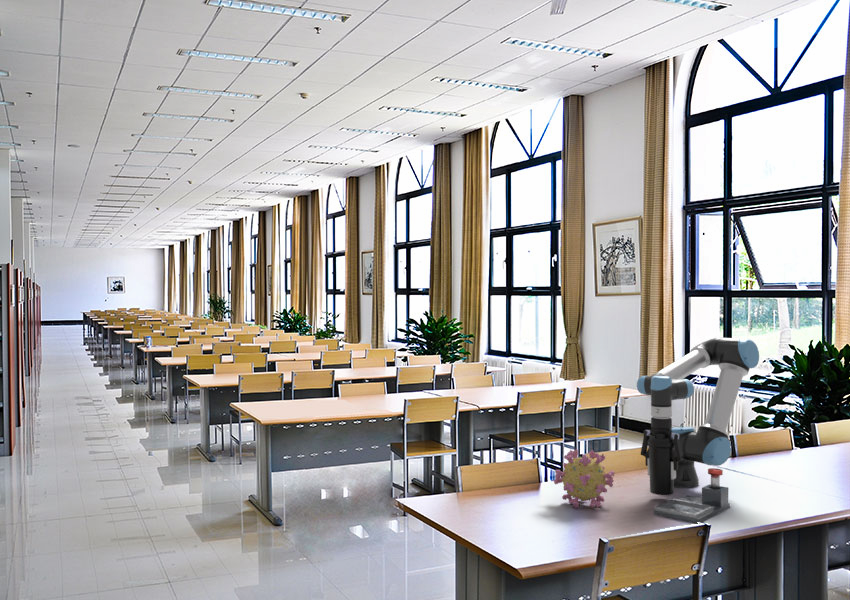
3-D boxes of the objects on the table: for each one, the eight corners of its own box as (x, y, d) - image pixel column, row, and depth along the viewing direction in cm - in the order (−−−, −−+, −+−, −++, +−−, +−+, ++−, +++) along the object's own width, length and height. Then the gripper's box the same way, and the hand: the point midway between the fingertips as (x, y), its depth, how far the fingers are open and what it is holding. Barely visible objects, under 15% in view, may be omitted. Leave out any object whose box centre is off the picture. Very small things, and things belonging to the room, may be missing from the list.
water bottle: (677, 490, 292) (677, 430, 292) (674, 497, 283) (673, 435, 283) (650, 487, 297) (649, 428, 296) (645, 494, 287) (645, 433, 287)
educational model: (576, 494, 297) (577, 443, 297) (627, 505, 281) (628, 452, 281) (540, 505, 281) (540, 451, 281) (592, 518, 265) (593, 461, 265)
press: (654, 514, 270) (654, 493, 270) (687, 499, 291) (687, 479, 291) (698, 523, 259) (698, 501, 259) (729, 507, 280) (730, 486, 280)
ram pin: (705, 491, 278) (705, 469, 278) (711, 489, 282) (711, 467, 282) (719, 494, 275) (719, 472, 275) (724, 491, 279) (724, 469, 279)
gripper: (630, 415, 294) (631, 474, 294) (684, 421, 279) (684, 483, 280) (639, 413, 299) (640, 470, 300) (693, 418, 285) (693, 479, 285)
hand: (661, 476), depth 290 cm, fingers closed on water bottle, 9 cm apart
